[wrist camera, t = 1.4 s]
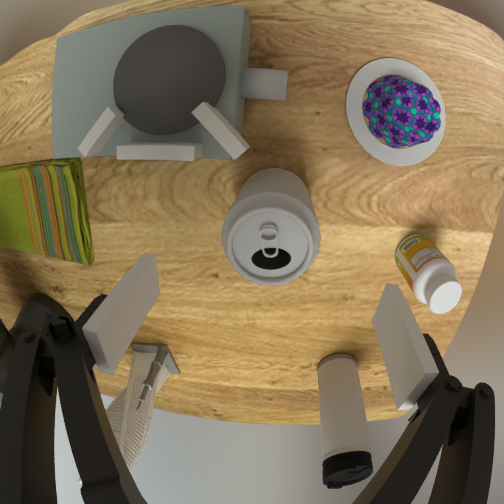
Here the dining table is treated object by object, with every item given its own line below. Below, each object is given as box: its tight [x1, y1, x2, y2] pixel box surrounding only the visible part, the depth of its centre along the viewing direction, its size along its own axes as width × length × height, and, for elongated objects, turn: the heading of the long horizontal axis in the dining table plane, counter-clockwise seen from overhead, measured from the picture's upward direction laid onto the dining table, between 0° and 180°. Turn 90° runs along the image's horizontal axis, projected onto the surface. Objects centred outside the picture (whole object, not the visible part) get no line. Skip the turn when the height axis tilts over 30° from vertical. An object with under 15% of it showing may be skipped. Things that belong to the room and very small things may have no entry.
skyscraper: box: [79, 343, 180, 483], centre depth 33 cm, size 8×8×28 cm
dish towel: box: [0, 158, 94, 266], centre depth 34 cm, size 15×36×3 cm, turn 87°
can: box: [222, 168, 321, 286], centre depth 25 cm, size 8×8×12 cm
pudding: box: [346, 58, 446, 166], centre depth 22 cm, size 12×12×5 cm
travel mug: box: [317, 354, 373, 489], centre depth 33 cm, size 6×7×20 cm
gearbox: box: [52, 6, 288, 161], centre depth 22 cm, size 24×14×8 cm, turn 85°
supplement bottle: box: [395, 234, 462, 314], centre depth 27 cm, size 5×5×10 cm
